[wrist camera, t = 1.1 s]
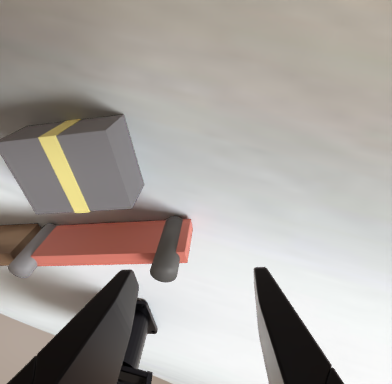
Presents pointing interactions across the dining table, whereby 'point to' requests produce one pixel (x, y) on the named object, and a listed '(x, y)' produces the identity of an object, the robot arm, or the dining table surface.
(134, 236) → the gate
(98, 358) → the robot arm
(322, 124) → the dining table surface
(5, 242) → the tan frame
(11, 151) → the grey taped parcel
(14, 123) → the dining table surface
